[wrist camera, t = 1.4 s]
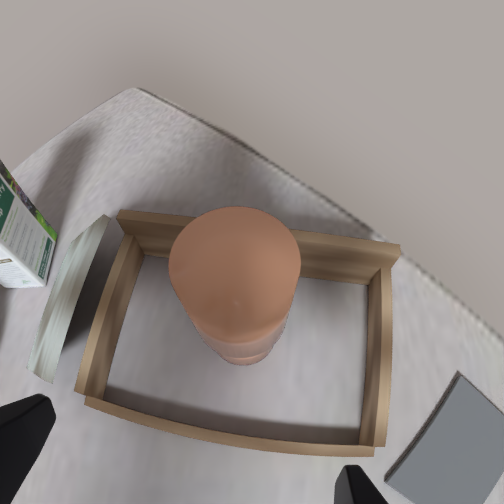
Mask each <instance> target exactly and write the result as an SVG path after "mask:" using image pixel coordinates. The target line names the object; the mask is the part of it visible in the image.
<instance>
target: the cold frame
mask: <svg viewBox="0 0 504 504" xmlns="http://www.w3.org/2000/svg"><path fill="white" fill-rule="evenodd" d="M116 219H117V221H118V222H119V224H120V226H121V228H122V229H123V231H124V233H125V235H124V237H123V240H122V242H121V245H120V247H119V250H118V252H117V255H116V257H115V260H114V263H113V265H112V268H111V271H110V273H109V276H108V279H107V282H106V284H105V287H104V290H103V293H102V296H101V299H100V302H99V305H98V308H97V311H96V314H95V317H94V320H93V323H92V327H91V330H90V333H89V337H88V340H87V343H86V347H85V350H84V354H83V357H82V361H81V365H80V369H79V373H78V376H77V380H76V384H75V389H74V391H75V392H77V393H80V394H83V395H86V398H85V402H84V405H86V406H89V407H91V408H94V409H96V410H99V411H102V412H105V413H107V414H110V415H113V416H116V417H119V418H122V419H125V420H128V421H131V422H134V423H138V424H141V425H144V426H148V427H151V428H155V429H158V430H162V431H166V432H169V433H173V434H177V435H181V436H186V437H190V438H194V439H199V440H203V441H208V442H213V443H218V444H224V445H229V446H235V447H241V448H248V449H255V450H262V451H270V452H279V453H288V454H300V455H314V456H337V457H374V449H375V447H385V443H386V435H387V426H388V415H389V404H390V390H391V372H392V282H391V268H392V266H393V265H394V264H395V262H396V261H397V260H398V258H399V257H400V255H401V250H400V245H399V244H392V243H386V242H379V241H372V240H366V239H359V238H352V237H345V236H338V235H331V234H324V233H317V232H309V231H302V230H294V229H289V231H290V232H291V233H292V235H293V237H294V238H295V240H296V243H297V245H298V248H299V252H300V259H301V267H300V274H299V276H301V277H309V278H316V279H324V280H332V281H340V282H348V283H356V284H364V285H368V340H367V361H366V376H365V389H364V401H363V411H362V420H361V429H360V437H359V444H358V445H343V444H320V443H306V442H294V441H284V440H275V439H267V438H259V437H252V436H245V435H239V434H233V433H227V432H222V431H217V430H211V429H207V428H202V427H197V426H193V425H188V424H184V423H180V422H176V421H172V420H168V419H164V418H160V417H156V416H153V415H149V414H146V413H142V412H139V411H135V410H132V409H129V408H126V407H123V406H120V405H117V404H114V403H111V402H108V401H105V400H103V396H104V392H105V387H106V383H107V379H108V375H109V371H110V367H111V363H112V359H113V356H114V352H115V348H116V345H117V341H118V337H119V334H120V330H121V327H122V324H123V320H124V317H125V313H126V310H127V307H128V304H129V300H130V297H131V294H132V291H133V288H134V285H135V282H136V279H137V276H138V273H139V270H140V267H141V264H142V261H143V258H144V255H151V256H158V257H165V258H169V256H170V252H171V249H172V246H173V244H174V242H175V240H176V238H177V237H178V235H179V234H180V233H181V231H182V230H183V229H184V228H185V227H186V226H187V225H188V224H189V223H190V222H192V221H193V220H194V219H196V217H187V216H178V215H169V214H160V213H150V212H140V211H130V210H120V211H119V213H118V215H117V218H116ZM109 220H110V218H109V217H108V216H106V215H105V214H104V215H102V216H101V217H100V218H99V219H98V220H96V221H95V222H94V223H93V224H92V225H91V226H89V227H88V228H87V229H86V230H85V231H84V232H82V233H81V234H80V235H79V236H78V237H77V238H76V239H75V240H73V241H72V243H71V245H70V247H69V249H68V252H67V254H66V256H65V259H64V261H63V263H62V266H61V268H60V271H59V273H58V275H57V278H56V281H55V283H54V286H53V288H52V291H51V294H50V296H49V299H48V302H47V304H46V307H45V310H44V313H43V316H42V319H41V322H40V325H39V328H38V331H37V334H36V338H35V341H34V344H33V347H32V351H31V354H30V358H29V362H28V365H27V369H28V370H30V371H31V372H33V373H34V374H35V375H37V376H38V377H40V378H41V379H43V380H44V381H47V382H49V383H52V384H53V380H54V376H55V372H56V368H57V365H58V361H59V357H60V354H61V350H62V347H63V343H64V340H65V337H66V333H67V330H68V327H69V324H70V321H71V318H72V315H73V312H74V309H75V306H76V303H77V300H78V297H79V295H80V292H81V289H82V286H83V284H84V281H85V278H86V276H87V273H88V270H89V268H90V265H91V263H92V260H93V258H94V255H95V253H96V250H97V248H98V246H99V243H100V241H101V239H102V236H103V234H104V232H105V229H106V227H107V225H108V223H109Z"/></svg>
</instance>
